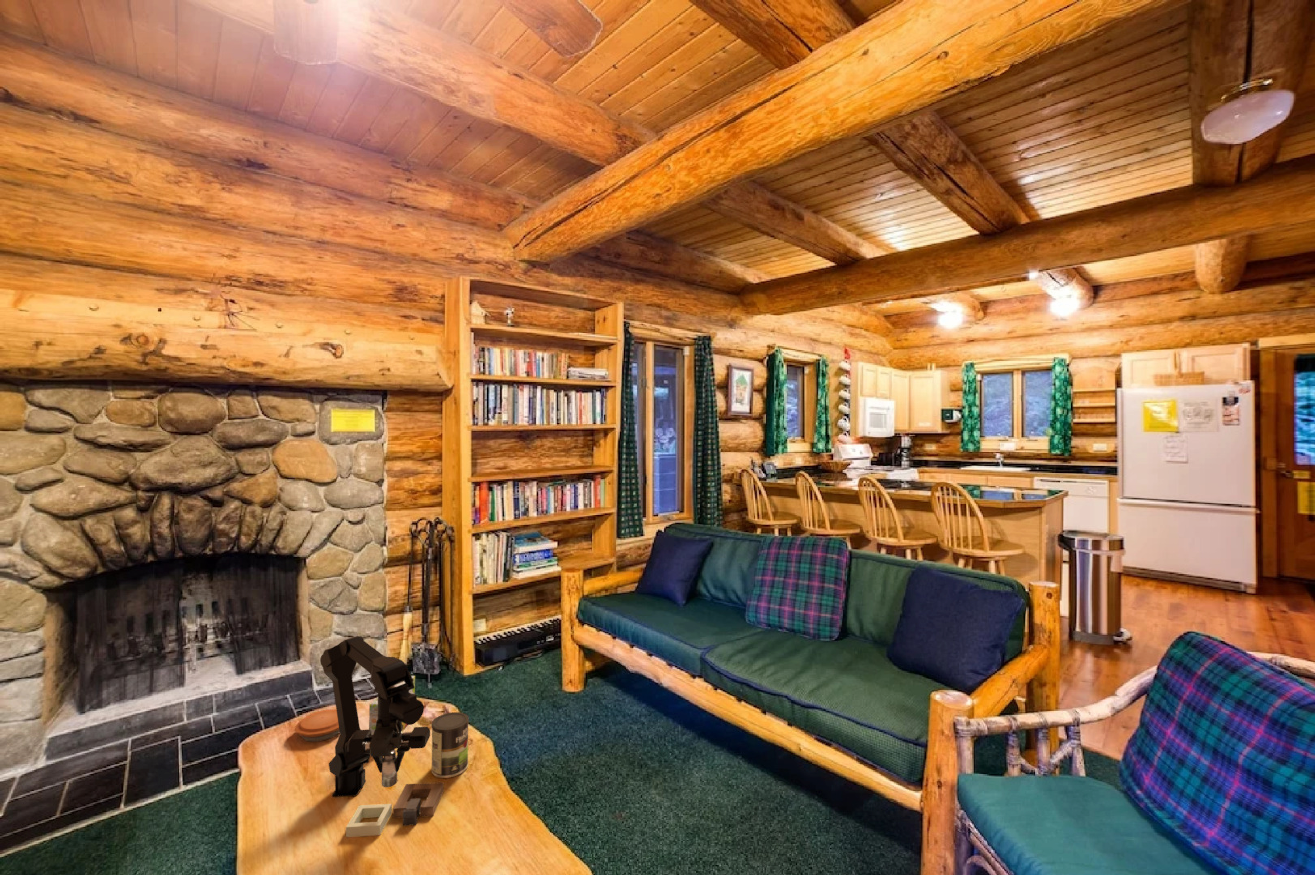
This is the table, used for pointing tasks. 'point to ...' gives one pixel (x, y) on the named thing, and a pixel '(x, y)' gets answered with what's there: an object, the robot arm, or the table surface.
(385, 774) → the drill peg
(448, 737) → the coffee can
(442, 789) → the socket block
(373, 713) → the snack box
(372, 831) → the beige square frame
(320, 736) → the pie
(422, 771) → the table surface
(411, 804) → the dark grey block
